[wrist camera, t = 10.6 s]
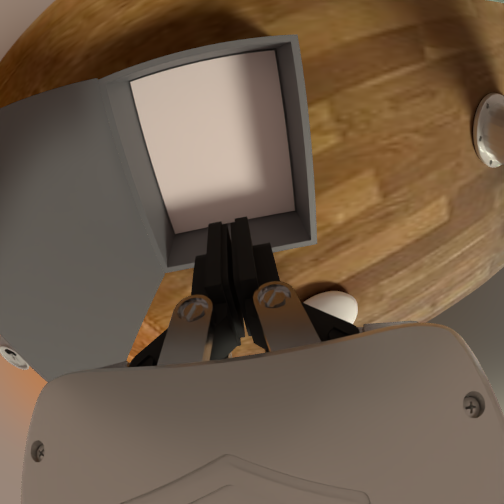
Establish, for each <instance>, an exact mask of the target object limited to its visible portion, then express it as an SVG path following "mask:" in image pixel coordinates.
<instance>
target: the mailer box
mask: <svg viewBox="0 0 504 504" xmlns="http://www.w3.org/2000/svg"><path fill="white" fill-rule="evenodd" d="M98 84H99V88H100V92H101V96H102V100H103V104H104V107H105V111H106V115H107V118H108V122H109V125H110V129H111V132H112V135H113V139H114V142H115V145H116V148H117V152H118V155H119V158H120V161H121V164H122V167H123V170H124V173H125V176H126V179H127V182H128V184H129V187H130V190H131V193H132V196H133V198H134V201H135V204H136V206H137V209H138V212H139V214H140V217H141V219H142V222H143V224H144V227H145V230H146V232H147V234H148V237H149V239H150V242H151V244H152V247H153V249H154V251H155V254H156V256H157V258H158V261H159V263H160V265H161V268H162V270H163V272H164V273H167V272H173V271H178V270H183V269H189V268H194V264H195V257H196V256H198V255H203V254H206V251H207V237H208V225H209V224H210V223H215V222H220V221H221V222H222V224H227V226H228V230H229V235H230V239H231V227H230V223H232V222H235V219H236V218H241V217H246V216H247V218H248V224H249V229H250V234H251V239H252V244H253V245H258V244H264V243H269V242H270V244H271V248H272V252H278V251H283V250H288V249H293V248H298V247H303V246H309V245H314V244H317V230H316V206H315V188H314V172H313V159H312V147H311V136H310V125H309V116H308V107H307V98H306V90H305V82H304V75H303V68H302V61H301V54H300V48H299V42H298V36H297V35H280V36H268V37H258V38H249V39H242V40H235V41H229V42H223V43H217V44H212V45H207V46H202V47H198V48H193V49H189V50H185V51H181V52H177V53H174V54H170V55H166V56H163V57H160V58H156V59H153V60H150V61H147V62H144V63H141V64H138V65H135V66H132V67H129V68H126V69H124V70H121V71H119V72H116V73H113V74H111V75H109V76H106V77H104V78H101V79H99V80H98Z"/></svg>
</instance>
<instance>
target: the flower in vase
mask: <svg viewBox="0 0 504 504" xmlns="http://www.w3.org/2000/svg"><path fill="white" fill-rule="evenodd" d="M303 303H305V304H307V305H310V306H312V307H314V308H316V309H319V310H321V311H323V312H326V313H328V314H330V315H333V316H335V317H338V318H340V319H342V320H345V321H347V322H349V323H351V324H353V322H354V321H355V319H356V316H357V312H358V307H357V302H356V300H355V298H354V297H352V296H351V295H349V294H347V293H344V292H340V291H328V292H323V293H320V294H317V295H315V296H313V297H311V298H309V299H307V300H306V301H305V302H303Z"/></svg>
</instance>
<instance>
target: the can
mask: <svg viewBox="0 0 504 504" xmlns="http://www.w3.org/2000/svg"><path fill="white" fill-rule="evenodd" d="M0 353H1V355H2V356H3V357H4V358H5V359H6V360H7V361H8V362H9V363H11V364H12V365H14V366H16V367H18V368H20V369H28V368H29V365H28V364H27V363H26V362H25V361H24V360H23V359H22V358H21V357H20V356H19V355H18V354H17V353H16V351H15V350H14V349H13V348H12V347H11V346H10V345H9V344H8V343H7V342H6V341H5V340H4V338H3V337H2V336H1V335H0Z"/></svg>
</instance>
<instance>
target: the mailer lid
mask: <svg viewBox="0 0 504 504" xmlns="http://www.w3.org/2000/svg"><path fill="white" fill-rule="evenodd" d="M164 275H165V274H164V272H163V270H162V268H161V265H160V263H159V261H158V258H157V256H156V254H155V251H154V249H153V247H152V244H151V242H150V239H149V237H148V235H147V232H146V230H145V227H144V225H143V222H142V220H141V217H140V214H139V212H138V209H137V206H136V204H135V201H134V198H133V196H132V193H131V190H130V187H129V185H128V182H127V179H126V176H125V173H124V170H123V167H122V164H121V161H120V158H119V155H118V152H117V149H116V145H115V142H114V139H113V136H112V132H111V129H110V125H109V122H108V118H107V115H106V111H105V107H104V104H103V100H102V96H101V92H100V88H99V84H98V80H97V78H95V79H90V80H86V81H82V82H78V83H74V84H70V85H66V86H62V87H59V88H56V89H52V90H49V91H46V92H43V93H40V94H37V95H34V96H31V97H28V98H25V99H23V100H20V101H17V102H15V103H12V104H10V105H7V106H5V107H3V108H0V335H1V336H2V337H3V338H4V340H5V341H6V342H7V343H8V344H9V345H10V346H11V347H12V348H13V349H14V350H15V351H16V353H17V354H18V355H19V356H20V357H21V358H22V359H23V360H24V361H25V362H26V363H27V364H28V365H29V366H31V367H32V368H33V369H34V370H35V371H36V372H37V373H38V374H39V375H40V376H41V377H42V378H43V379H45V380H46V381H47V382H50V381H51V380H53V379H55V378H56V377H59V376H61V375H64V374H67V373H71V372H75V371H80V370H88V369H97V368H101V367H105V366H108V365H112V364H116V363H120V362H124V361H126V360H127V357H128V355H129V352H130V350H131V348H132V345H133V343H134V341H135V338H136V336H137V334H138V331H139V329H140V327H141V324H142V322H143V320H144V318H145V315H146V313H147V311H148V309H149V307H150V304H151V302H152V300H153V298H154V296H155V294H156V291H157V289H158V287H159V285H160V283H161V281H162V279H163V277H164Z"/></svg>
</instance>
